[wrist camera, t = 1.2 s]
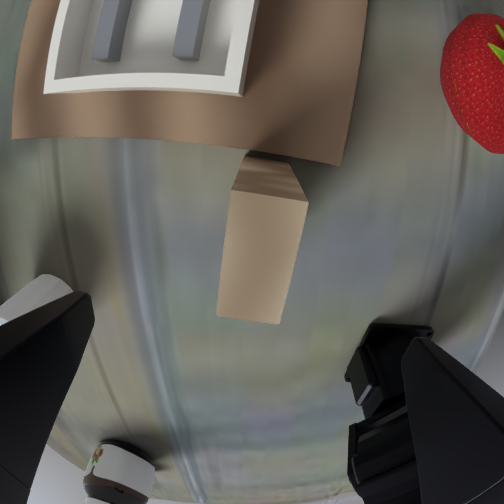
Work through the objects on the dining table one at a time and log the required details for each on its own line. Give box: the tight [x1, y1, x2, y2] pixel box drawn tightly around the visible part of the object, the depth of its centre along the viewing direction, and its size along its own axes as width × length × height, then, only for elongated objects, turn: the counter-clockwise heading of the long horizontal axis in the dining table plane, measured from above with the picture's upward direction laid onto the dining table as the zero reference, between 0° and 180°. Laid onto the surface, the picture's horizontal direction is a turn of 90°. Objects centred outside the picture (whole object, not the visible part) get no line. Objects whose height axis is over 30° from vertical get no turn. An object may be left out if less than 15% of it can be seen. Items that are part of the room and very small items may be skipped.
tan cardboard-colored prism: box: [216, 156, 309, 324], centre depth 14 cm, size 2×5×8 cm, turn 172°
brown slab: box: [12, 0, 368, 166], centre depth 12 cm, size 22×16×1 cm
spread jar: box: [83, 440, 155, 504], centre depth 30 cm, size 12×11×12 cm
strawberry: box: [440, 14, 504, 154], centre depth 9 cm, size 6×8×10 cm
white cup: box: [0, 274, 73, 325], centre depth 19 cm, size 7×7×7 cm
